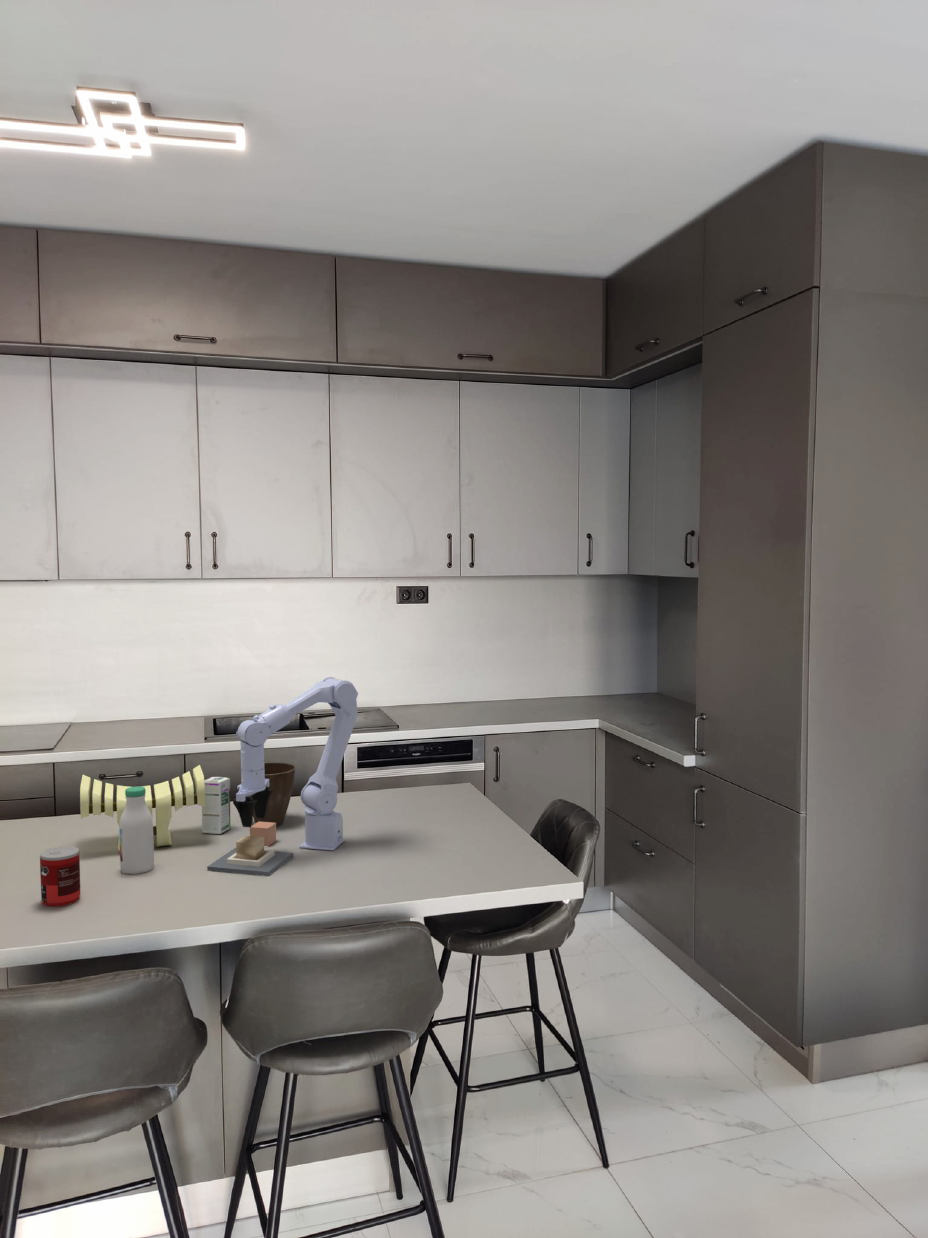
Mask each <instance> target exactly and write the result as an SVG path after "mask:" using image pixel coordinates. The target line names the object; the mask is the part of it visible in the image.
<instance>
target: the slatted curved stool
mask: <svg viewBox="0 0 928 1238" xmlns="http://www.w3.org/2000/svg"><path fill="white" fill-rule="evenodd" d="M192 776H193V779H192ZM181 777H182V783H183V787H182V783H181V780H180V776H177V777H174V778H172V779H171V785H172V791H173V792H172V793H173V795H172V794H171V788H170V783H169V780H166V781H163V782H160V783H156V784H153V793H154V797H153V796H152V789H151V785H143V786H142V785H141V787H145V790H146V793H145V795H146V796H145V802H146V805H147V807H148V809H149V811H150V813H151V816H152V817H153V808H155V825H153V837H154V836H155V841H156V842H155V843H156V847H164V846H172V839H171V838H172V837H171V832H170V830H169V825H170V823H171V819H172V816H173V815H172V810H173V809H172V806H174V812H177V811H178V810H180V809H182V808H184V805H186V807H189V806H195V804H197V806H201V807H202V806H205V782H204V781H205V775H204V772H203V770H202V767H201V764H198V765H197V766H195V767H193V769H192V775H191V772H190V771H187V772H185V773H183V774H182V776H181ZM91 780H92V779H91V777H90V776H87V775H85V774H82V777H81V781H80V787H79V788H80V789H79V792H80V793H79V798H80V799H79V807H80V819H83V818H84V819H85V818H87V817H89V816H90V814H92V816H96V815H98V816H99V815H102V813H104V815H105V816H107V817H108V816H109V817H110V818H114V812H116V820H117V821H116V822H117V824H118V827H119V828H120V819H121V816H122V813H123V811H124V809H125V806H126V801H127V800H126V798H125V797H126V795H125V790H126V789H127V788H130V787H131V786H128V785H127V786H125V785H118V784H116V801H114V783H113V784H112V783H110V782H109V783H108V782H105V786H104V787H105V789H104V802H102V794H103V782H102V781H101V780H99V779H95V778H94V780H93V786H92V795H91V785H92V784H91ZM193 780H194V782H193ZM194 784H195V785H194ZM194 786H195V787H194ZM194 788H195V789H194ZM183 790H184V795H183ZM194 792H195V793H194ZM90 796H91V797H92V799H91V800H92V803H90ZM152 820H153V818H152ZM153 821H154V820H153ZM117 841H118V845H117V847H118V848H117V850H118V852H120V835H119V834H118V840H117Z"/></svg>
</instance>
